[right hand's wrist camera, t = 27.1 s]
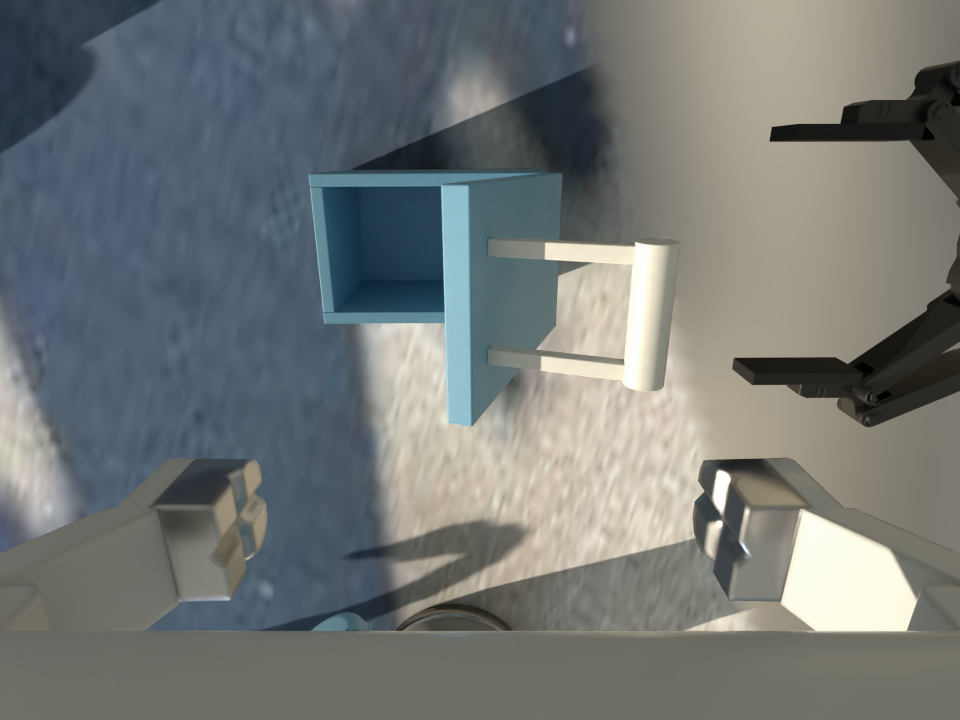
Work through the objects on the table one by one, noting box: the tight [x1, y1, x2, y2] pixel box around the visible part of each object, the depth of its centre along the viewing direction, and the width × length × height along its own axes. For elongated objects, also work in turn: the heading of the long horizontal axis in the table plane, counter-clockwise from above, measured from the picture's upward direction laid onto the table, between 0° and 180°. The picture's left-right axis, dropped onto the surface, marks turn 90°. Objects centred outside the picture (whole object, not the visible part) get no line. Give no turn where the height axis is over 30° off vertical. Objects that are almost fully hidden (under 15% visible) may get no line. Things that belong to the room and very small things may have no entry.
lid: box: [441, 173, 681, 426], centre depth 28 cm, size 16×10×9 cm
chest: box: [309, 169, 551, 323], centre depth 42 cm, size 15×10×11 cm, turn 90°
